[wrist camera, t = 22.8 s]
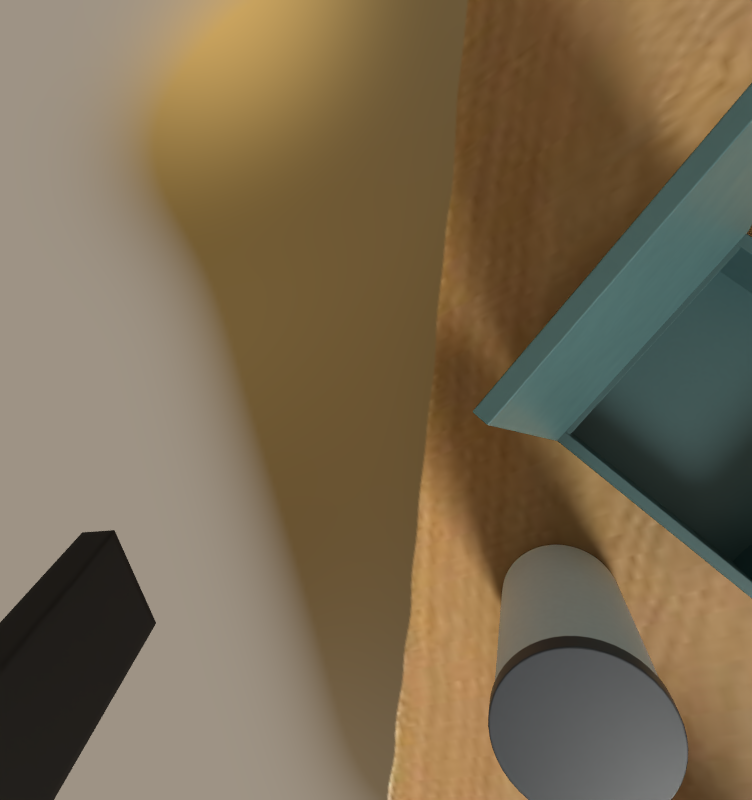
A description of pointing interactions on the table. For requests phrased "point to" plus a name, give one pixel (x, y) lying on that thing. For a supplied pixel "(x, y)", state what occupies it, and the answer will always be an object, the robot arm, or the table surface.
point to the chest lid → (633, 286)
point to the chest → (687, 422)
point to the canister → (579, 688)
